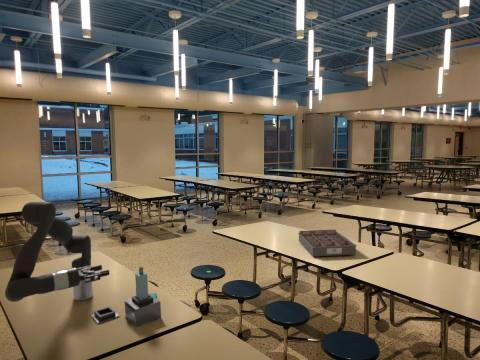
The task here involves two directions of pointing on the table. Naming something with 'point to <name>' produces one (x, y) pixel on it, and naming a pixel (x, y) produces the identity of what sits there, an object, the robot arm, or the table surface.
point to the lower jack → (104, 315)
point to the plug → (141, 285)
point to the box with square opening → (142, 310)
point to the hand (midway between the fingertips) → (105, 269)
